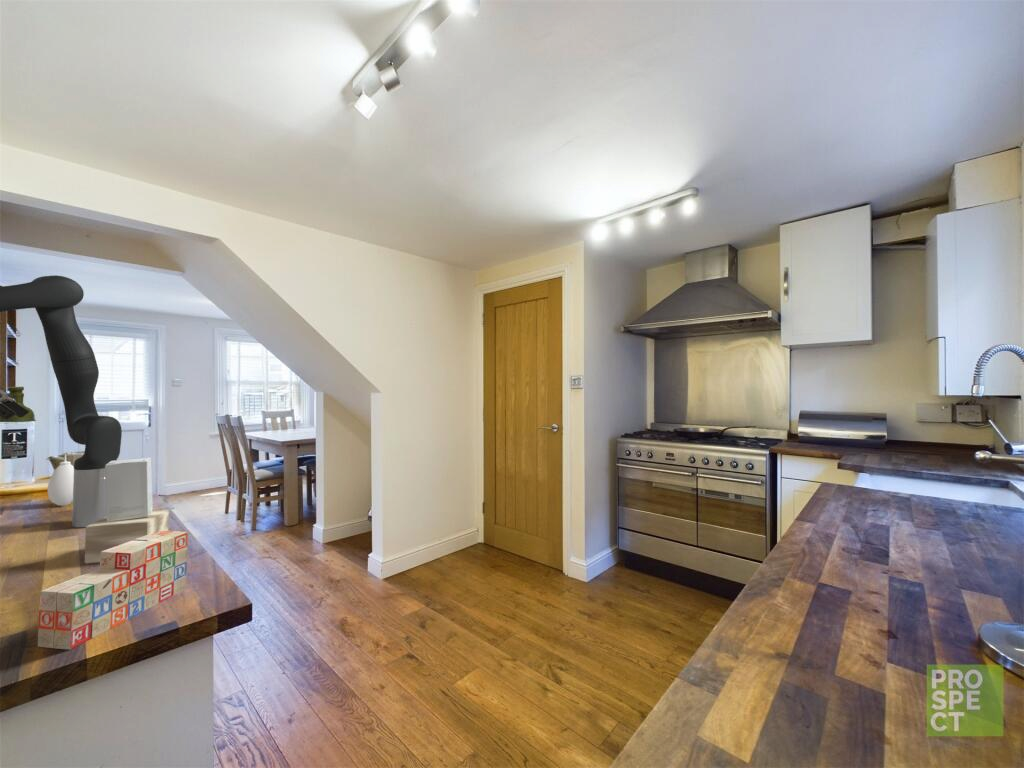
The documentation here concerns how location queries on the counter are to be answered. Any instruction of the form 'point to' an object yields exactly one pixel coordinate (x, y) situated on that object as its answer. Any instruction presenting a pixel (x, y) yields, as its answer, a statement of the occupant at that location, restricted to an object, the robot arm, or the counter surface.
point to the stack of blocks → (113, 589)
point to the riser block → (121, 532)
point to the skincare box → (128, 489)
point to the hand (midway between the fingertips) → (19, 415)
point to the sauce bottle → (62, 484)
